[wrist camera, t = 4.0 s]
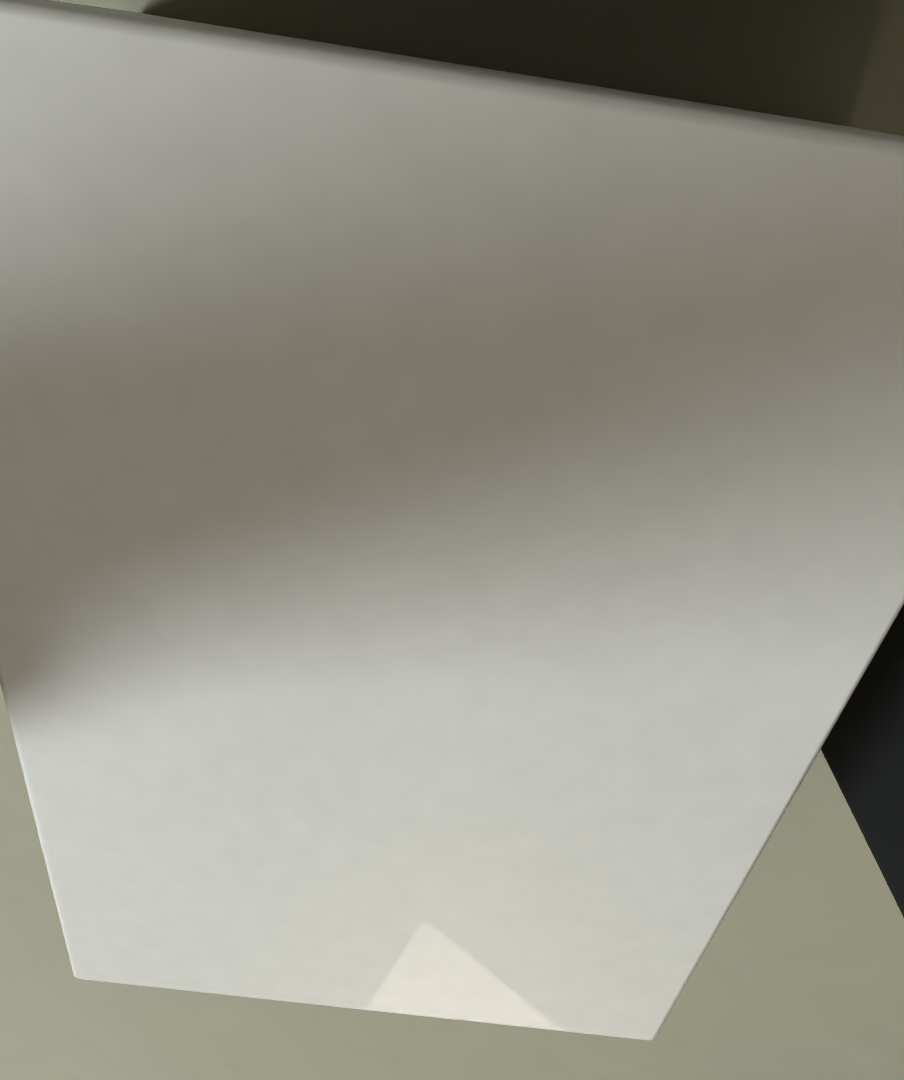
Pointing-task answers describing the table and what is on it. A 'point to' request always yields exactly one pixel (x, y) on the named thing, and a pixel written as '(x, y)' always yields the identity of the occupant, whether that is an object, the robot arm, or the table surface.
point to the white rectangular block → (426, 509)
